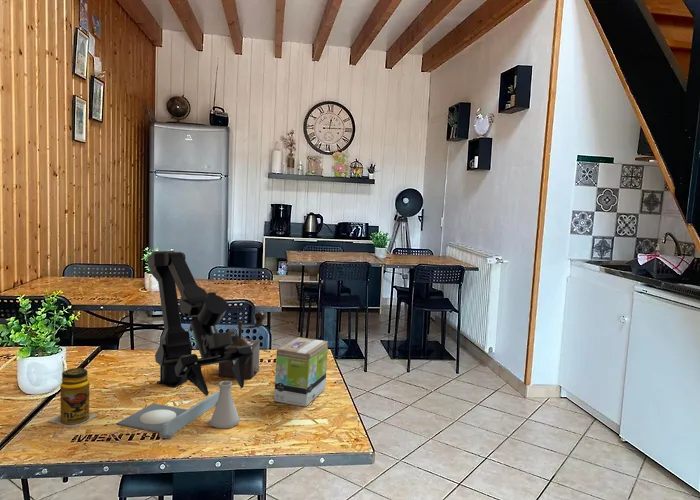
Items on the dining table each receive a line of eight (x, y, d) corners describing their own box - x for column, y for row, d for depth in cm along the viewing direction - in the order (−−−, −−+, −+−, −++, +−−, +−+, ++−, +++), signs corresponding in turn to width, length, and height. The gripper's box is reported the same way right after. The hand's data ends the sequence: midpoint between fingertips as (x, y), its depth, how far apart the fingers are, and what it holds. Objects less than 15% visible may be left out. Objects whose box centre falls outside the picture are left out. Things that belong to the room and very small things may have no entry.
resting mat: (116, 424, 120) (116, 422, 120) (153, 404, 132) (153, 402, 132) (163, 433, 116) (163, 432, 116) (196, 412, 129) (196, 410, 129)
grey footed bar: (159, 436, 115) (159, 423, 114) (212, 401, 136) (213, 391, 135) (170, 438, 114) (170, 425, 114) (222, 403, 135) (223, 392, 135)
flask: (232, 431, 119) (233, 389, 118) (203, 427, 121) (204, 386, 120) (244, 418, 126) (245, 379, 125) (217, 415, 128) (218, 376, 127)
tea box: (307, 408, 135) (309, 353, 134) (272, 402, 138) (274, 348, 136) (326, 389, 149) (328, 339, 148) (294, 384, 152) (296, 335, 151)
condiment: (74, 428, 117) (74, 377, 116) (45, 421, 120) (45, 372, 119) (98, 416, 124) (98, 368, 123) (71, 410, 127) (71, 363, 126)
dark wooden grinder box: (252, 379, 154) (254, 321, 152) (217, 377, 155) (218, 319, 153) (265, 364, 169) (267, 311, 168) (233, 361, 170) (234, 308, 169)
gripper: (179, 322, 119) (198, 382, 112) (250, 314, 131) (271, 367, 124) (167, 347, 126) (183, 405, 119) (235, 337, 138) (254, 389, 131)
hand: (225, 391), depth 123 cm, fingers open, 9 cm apart
